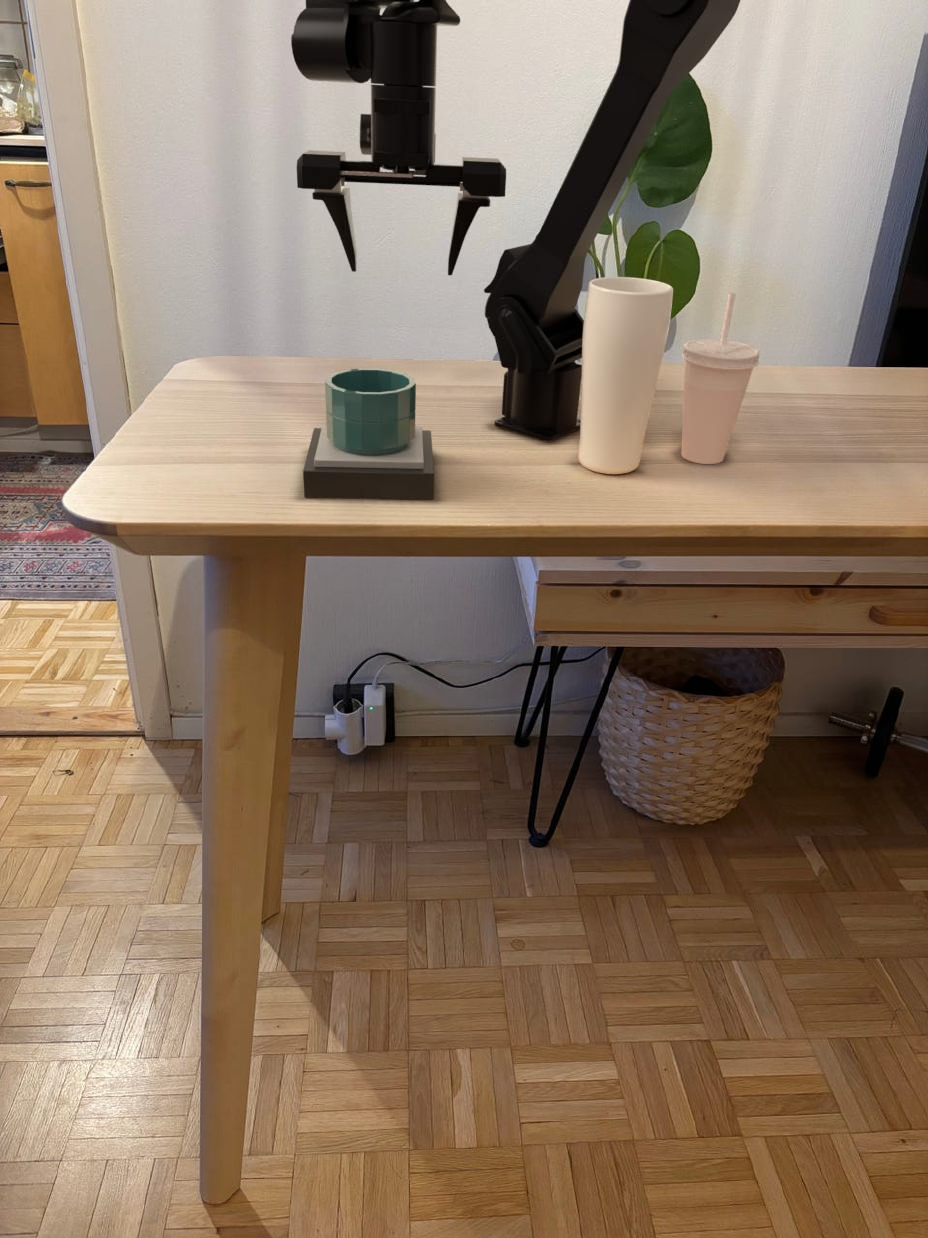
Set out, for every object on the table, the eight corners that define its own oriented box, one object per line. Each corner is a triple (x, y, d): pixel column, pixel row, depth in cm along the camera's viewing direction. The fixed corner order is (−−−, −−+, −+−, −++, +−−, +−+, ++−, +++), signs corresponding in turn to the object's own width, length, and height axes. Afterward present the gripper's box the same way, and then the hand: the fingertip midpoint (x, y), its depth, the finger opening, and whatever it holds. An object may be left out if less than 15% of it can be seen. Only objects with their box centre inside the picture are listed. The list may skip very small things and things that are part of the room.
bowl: (432, 442, 75) (433, 381, 72) (372, 464, 70) (371, 399, 68) (369, 422, 79) (369, 363, 76) (309, 441, 74) (306, 379, 71)
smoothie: (741, 450, 85) (773, 291, 78) (735, 474, 79) (769, 306, 72) (671, 440, 86) (696, 283, 79) (661, 462, 81) (687, 297, 74)
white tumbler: (644, 454, 83) (670, 279, 75) (650, 482, 77) (679, 295, 69) (569, 449, 83) (586, 274, 76) (569, 476, 77) (588, 290, 70)
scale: (430, 454, 80) (431, 423, 79) (433, 499, 72) (434, 465, 70) (315, 452, 80) (313, 420, 78) (304, 497, 71) (302, 463, 70)
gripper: (504, 89, 88) (494, 262, 96) (308, 80, 88) (315, 254, 95) (511, 91, 79) (500, 282, 87) (291, 80, 78) (300, 274, 86)
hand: (402, 272), depth 89 cm, fingers open, 9 cm apart
